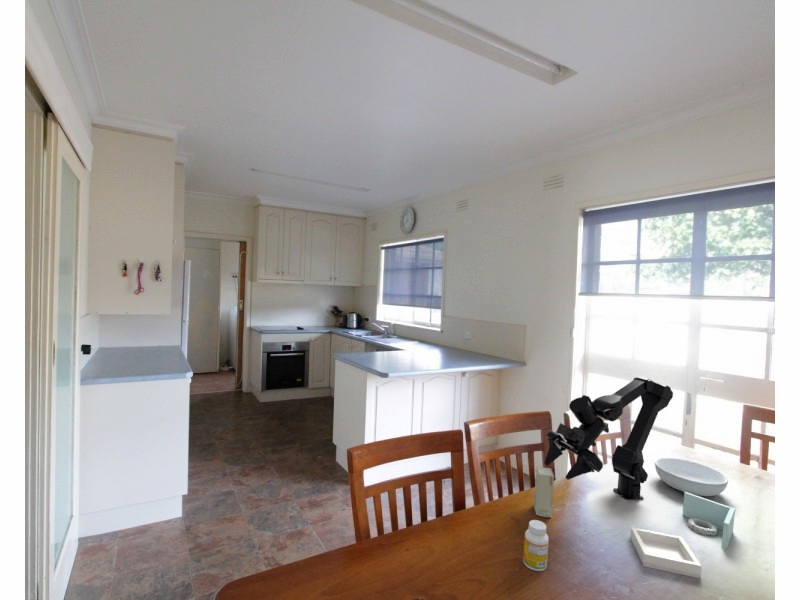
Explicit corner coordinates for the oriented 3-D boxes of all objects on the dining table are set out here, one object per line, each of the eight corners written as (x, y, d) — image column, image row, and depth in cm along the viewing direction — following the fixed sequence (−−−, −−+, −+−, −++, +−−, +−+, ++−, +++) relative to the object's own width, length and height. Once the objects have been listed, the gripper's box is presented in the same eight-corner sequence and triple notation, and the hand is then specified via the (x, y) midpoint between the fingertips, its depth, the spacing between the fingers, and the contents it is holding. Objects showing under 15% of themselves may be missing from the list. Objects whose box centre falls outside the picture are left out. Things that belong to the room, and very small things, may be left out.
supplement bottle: (525, 553, 103) (528, 515, 103) (548, 562, 100) (551, 523, 100) (520, 565, 98) (523, 525, 98) (543, 575, 96) (547, 534, 95)
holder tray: (630, 537, 113) (631, 527, 112) (680, 547, 109) (681, 536, 109) (643, 566, 101) (644, 554, 101) (700, 578, 98) (701, 565, 98)
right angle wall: (682, 515, 127) (685, 491, 127) (732, 534, 119) (735, 508, 118) (673, 530, 119) (675, 504, 118) (726, 551, 110) (728, 524, 110)
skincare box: (551, 518, 120) (555, 477, 119) (535, 516, 121) (539, 474, 120) (548, 507, 126) (551, 467, 126) (533, 504, 127) (536, 465, 126)
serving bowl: (722, 486, 148) (724, 467, 148) (730, 512, 130) (732, 490, 130) (653, 469, 159) (655, 452, 159) (652, 491, 141) (654, 471, 141)
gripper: (553, 406, 134) (521, 442, 131) (598, 425, 117) (563, 468, 113) (570, 428, 137) (540, 464, 134) (617, 451, 119) (584, 493, 116)
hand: (555, 471), depth 124 cm, fingers open, 9 cm apart
